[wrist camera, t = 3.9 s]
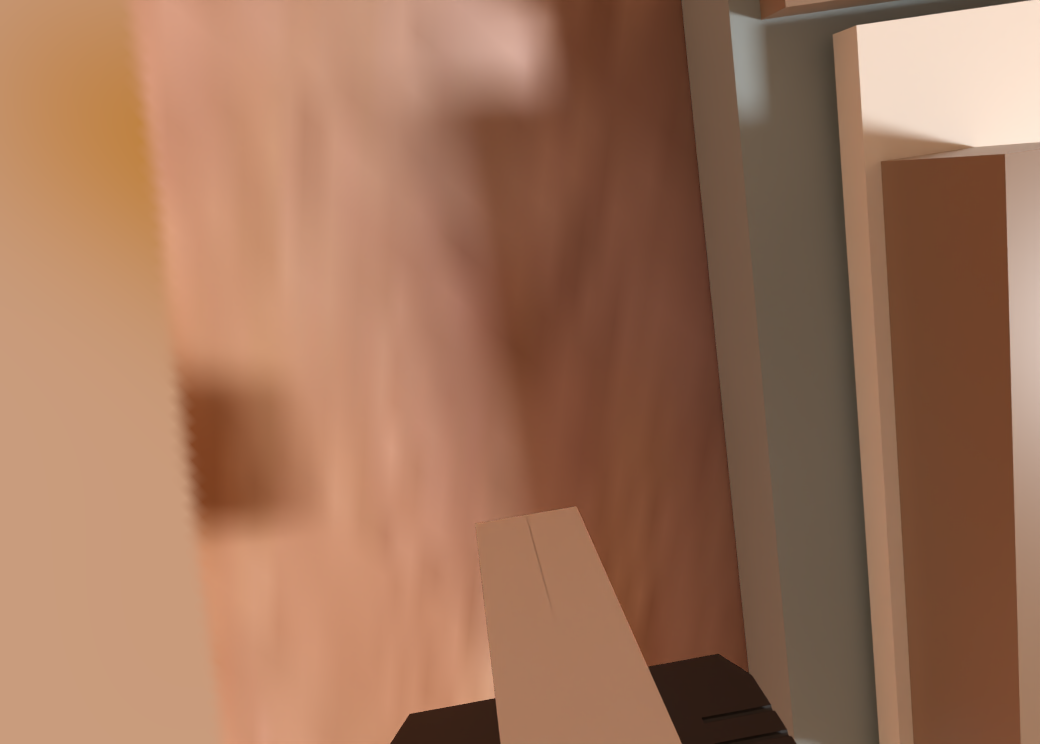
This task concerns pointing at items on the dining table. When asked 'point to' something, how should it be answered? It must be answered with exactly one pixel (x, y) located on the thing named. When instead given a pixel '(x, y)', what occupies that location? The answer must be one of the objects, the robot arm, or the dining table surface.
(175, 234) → the dining table surface
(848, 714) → the sliding lid box
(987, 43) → the slide cover
